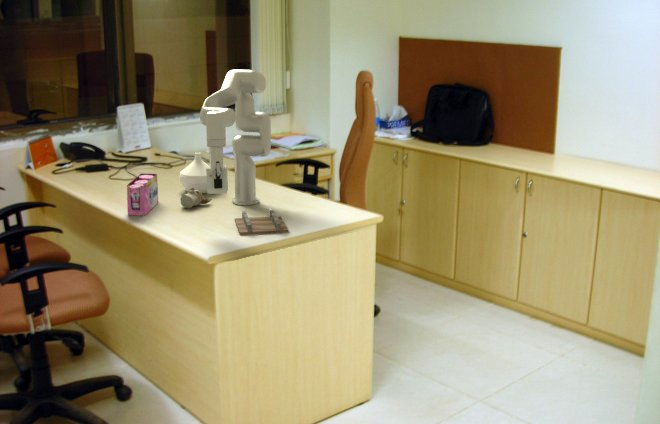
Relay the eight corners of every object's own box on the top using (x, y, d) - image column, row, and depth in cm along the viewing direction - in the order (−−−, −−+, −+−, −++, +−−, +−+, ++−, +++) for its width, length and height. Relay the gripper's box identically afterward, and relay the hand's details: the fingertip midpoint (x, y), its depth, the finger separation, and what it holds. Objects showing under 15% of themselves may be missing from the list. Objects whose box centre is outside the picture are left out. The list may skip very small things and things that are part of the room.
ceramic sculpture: (173, 188, 349) (195, 183, 361) (173, 207, 351) (194, 202, 364) (192, 192, 344) (213, 187, 356) (192, 211, 346) (212, 205, 359)
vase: (173, 194, 373) (171, 155, 368) (190, 185, 390) (189, 147, 385) (207, 197, 368) (206, 158, 363) (224, 188, 385) (223, 150, 380)
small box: (228, 190, 318) (227, 165, 315) (226, 193, 312) (226, 168, 309) (208, 190, 317) (207, 165, 314) (206, 193, 312) (206, 168, 309)
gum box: (144, 216, 337) (142, 186, 333) (126, 216, 337) (124, 186, 333) (158, 202, 360) (157, 173, 356) (142, 201, 360) (140, 173, 356)
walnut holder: (234, 220, 333) (234, 211, 332) (280, 218, 337) (280, 209, 336) (239, 235, 314) (239, 225, 313) (288, 232, 319) (288, 222, 317)
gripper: (205, 138, 316) (206, 181, 321) (208, 147, 300) (209, 192, 305) (223, 137, 318) (224, 180, 323) (227, 146, 302) (228, 191, 307)
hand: (217, 185), depth 314 cm, fingers closed on small box, 6 cm apart
